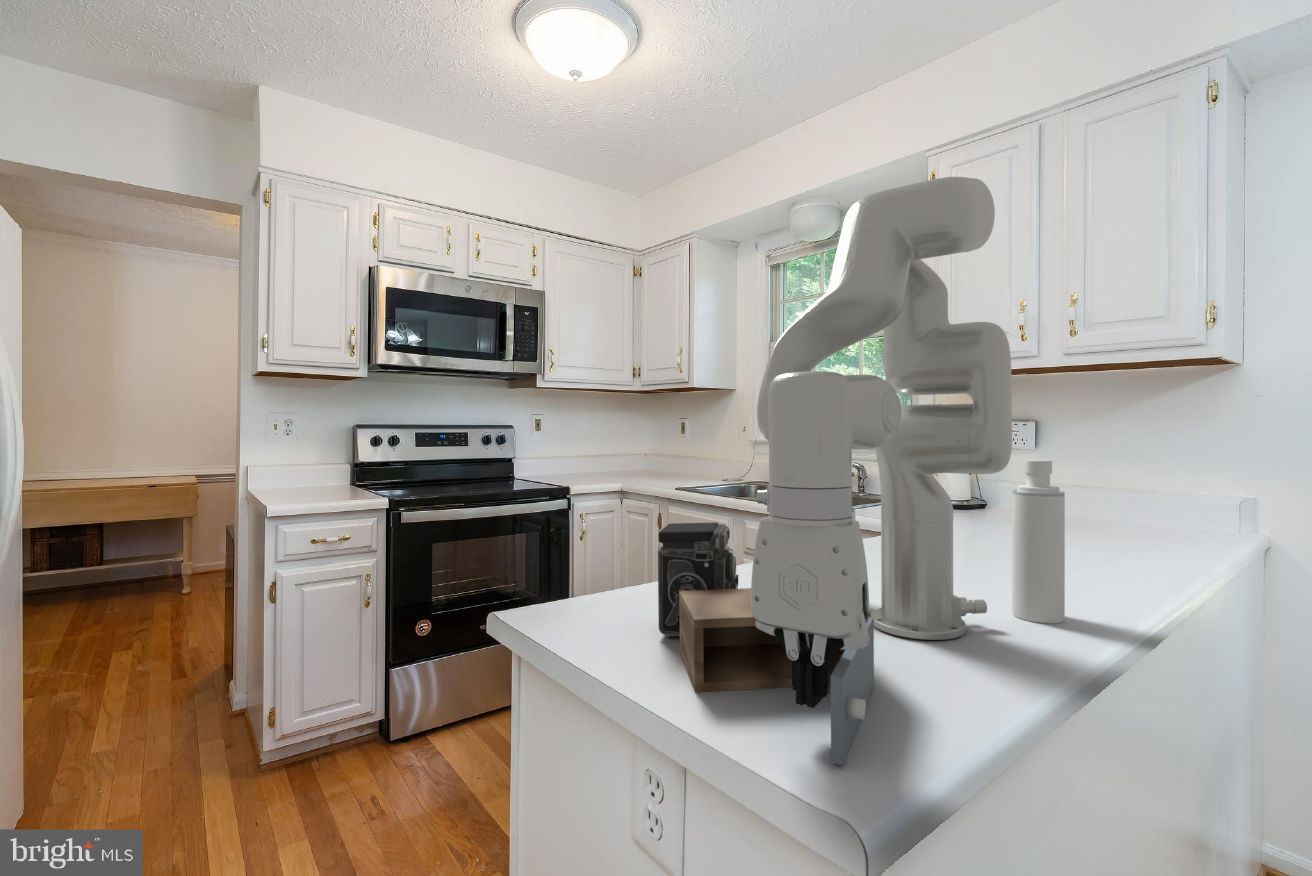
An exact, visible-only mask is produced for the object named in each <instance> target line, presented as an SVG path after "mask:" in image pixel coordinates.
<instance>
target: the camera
mask: <svg viewBox="0 0 1312 876" xmlns="http://www.w3.org/2000/svg"><path fill="white" fill-rule="evenodd" d="M730 532H731V531H730V528H729V526H727V524H725V523H724V524H723V523H722V524H721V523H720V524H719V522H684V523H683V522H682V523H679V522H678V523H677V522H676V523H668V524H667V525H666V526H664V527H663V528H662V529H661V530H659V532H658V542H659V543H660V544H662V546H661V547H660V548H659V549H658V551H657V591H658V593H657V594H658V595H657V596H658V599H657V600H658V601H657V602H658V603H657V604H658V605H657V606H658V630H659V632H660V633H661V634H662V635H664V636H665V637H667V638H671V637H680V611H679V591H691V590H717V589H739V574H737V557H736V556H735V555H734V553H733V552H731V551H730V549H726V547H727V546H728V544H729V539H730V534H731V533H730Z"/></svg>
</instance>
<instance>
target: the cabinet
mask: <svg viewBox="0 0 1312 876" xmlns="http://www.w3.org/2000/svg"><path fill="white" fill-rule="evenodd" d="M679 611H680V636H679V655H680V656H681V660H682V662H683V665H684V667H685V670H686V673H687V675H688V678H689V681H690V684H691V685H692V688H693V691H694V693H703V692H704V693H706V692H708V693H709V692H722V691H723V692H724V691H742V690H743V691H744V690H760V689H761V690H765V689H779V688H780V689H782V688H792V660H790V659H789V658H788V656H787V653H786V649H785V648H784V647H783V646H782V644H781V643H780V642H779V641H778V639H777V638H776V637H775V636H774V635H770V634H768V633H766V632H764V631H762V630H760V629H758V628H757V627H756V625H755V622H756V620H755V619H754V617H753V616H752V613H751V587H749V588H748V587H747V588H746V587H745V588H744V587H743V588H738V589H717V590H691V591H679ZM869 617H871V611H870V610H869ZM808 638H809V645H810V650H811V653H812V646H813V639H814V635H813V634H808ZM845 650H846V649H843V650H839V651H838V652H837V653H835V654H834V655H833V656H832V657H831V658H829V686H831V675H832V673H833V671H834V669H835V668H836V666H837V664H838V662H839V660H840V659H841V657H842V655H843V653H844V651H845Z"/></svg>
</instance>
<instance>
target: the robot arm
mask: <svg viewBox="0 0 1312 876" xmlns="http://www.w3.org/2000/svg"><path fill="white" fill-rule="evenodd" d="M995 209H996V208H995V202H994V198H993V194H992V193H991V190H990V189H989V187H988V186H987V185H986V183H985V182H984V181H983V180H981V179H979V178H975V177H967V176H966V177H964V176H946V177H939V178H935V179H929V180H923V181H920V182H916V183H911V184H907V185H903V186H898V187H894V188H889V189H884V190H880V191H877V192H874V193H870V194H867V195H865V196H863V197H862V198H860V199H858V201H856V202H855V203H853V204H852V205H851V206H850V208H849V210H848V211H847V213H846V215H845V217H844V220H843V224H842V226H841V227H842V229H841V231H840V235H839V240H838V244H837V247H836V252H835V255H834V259H833V263H832V266H831V271H830V274H829V275H830V276H829V278H828V284H827V287H826V291H825V293H824V294H823V295H822V296H821V297H820V298H818V299H817V300H816V301H814V303H812V304H811V305H810V306H808V308H807V309H806V310H804V312H802V313H801V314H800V315H799V316H798V318H796V319H795V321H794V322H793V323H792V324H791V325H789V327H787V329H786V330H785V331H784V332H783V333H782V334H781V336H780V337H779V338H778V339H777V341H776V343H775V344H774V346H773V348H772V350H771V352H770V355H769V357H768V360H767V363H766V367H765V371H764V373H763V377H762V381H761V383H760V384H761V385H760V388H759V392H758V393H759V394H758V399H757V405H756V406H757V407H756V408H757V410H756V419H757V424H758V425H757V426H758V428H759V432H760V433H761V434H762V436H763V438H764V439H765V440H766V441H767V442H768V484H767V485H766V488H765V489H762V490H761V489H760V490H757V492H756V496H755V497H756V500H755V501H756V502H757V504H759V505H760V504H761V505H764V506H766V512H767V513H768V516H765V517H760V520H759V524H758V528H757V532H756V533H757V534H756V538H755V545H754V552H753V560H752V571H751V572H752V573H751V583H750V584H751V586H750V588H751V613H752V616H753V617H754V619H755V620H756V622H755V625H756V627H757V628H758V629H760V630H762V631H764V632H766V633H768V634H770V635H774V636H775V637H776V638H777V639H778V641H779V642H780V643H781V644H782V646H783V647H784V648H785V649H786V653H787V656H788V658H789V659H790V660H792V687H791V689H792V691H795V704H796V705H798V706H803V705H806V707H808V708H811V709H814V708H815V707H816V706H817V705H818V704H819V703H820V702H822V701H823V699H824V698H826V697H827V695H828V694H829V688H830V685H829V658H831V657H832V656H833V655H834V654H835V653H837V652H838V651H839V650H843V649H846V650H851V649H863V648H865V647H866V646H867V645H868V644H869V643H870V638H869V634H868V630H867V625H866V623H867V621H868V617H869V611H870V591H869V578H868V567H867V566H868V565H867V559H866V558H867V557H866V553H865V546H864V541H863V536H862V531H861V525H860V523H859V521H857V520H855V521H853V520H852V508H853V496H852V495H853V486H852V485H853V481H852V480H853V479H852V475H853V471H852V470H853V469H852V468H853V465H852V463H853V461H852V460H853V458H852V454H853V453H852V452H853V451H852V450H869V449H870V450H871V449H875V455H876V459H877V460H876V461H877V465H878V466H877V467H878V473H879V482H880V485H879V486H880V514H881V515H880V532H881V533H880V540H881V541H880V543H881V546H880V549H881V550H880V551H881V552H880V556H881V557H880V560H881V561H880V563H881V564H880V565H881V572H880V573H881V576H880V579H881V581H880V583H881V584H880V585H881V586H880V587H881V588H880V590H881V591H880V592H881V595H880V597H881V602H880V603H881V605H880V606H881V607H879V608H877V609H874V610H873V611H871V612H870V614H871V617H873V618H874V628H876V629H878V630H879V631H882V632H885V633H887V634H890V635H893V636H898V637H902V638H908V639H914V640H923V641H924V640H925V641H927V640H928V641H942V640H943V641H944V640H950V639H955V638H959V637H961V636H963V635H964V634H965V633H966V631H967V630H966V629H967V623H966V622H965V620H964V619H962V617H966V615H967V614H971V615H974V614H975V615H977V614H986V613H987V611H988V605H987V602H986V601H985V600H984V599H969V600H968V599H967V598H966V596H963V597H961V596H957V595H955V594H954V507H953V503H952V500H951V497H950V495H949V494H948V492H947V491H946V490H945V489H944V487H943V486H942V485H941V484H940V482H939V481H938V480H937V479H936V477H935V476H934V474H959V475H960V474H964V475H965V474H967V475H991V474H996V473H1000V472H1001V471H1003V470H1005V469H1006V467H1007V466H1008V464H1009V463H1010V459H1011V457H1012V456H1011V455H1012V448H1013V404H1012V402H1013V399H1012V398H1013V397H1012V393H1013V392H1012V390H1013V389H1012V388H1013V387H1012V359H1011V357H1012V356H1011V349H1010V348H1011V347H1010V341H1009V339H1008V337H1007V334H1006V332H1005V330H1004V329H1003V328H1002V327H1001V326H1000V325H998V324H996V323H992V322H991V321H990V322H988V321H974V322H962V323H950V320H949V294H948V293H949V292H948V288H947V286H946V284H945V282H944V280H943V279H941V277H940V276H939V275H938V274H937V273H936V271H934V270H933V268H931V267H930V266H929V265H928V264H927V263H926V262H924V261H923V260H924V259H929V258H935V257H936V258H937V257H943V256H950V255H955V254H961V253H969V252H972V251H976V250H978V249H980V248H982V247H983V246H984V245H985V244H986V243H987V241H988V240H989V238H990V237H991V235H992V231H993V229H994V225H995V224H994V223H995V212H996V211H995ZM922 259H923V260H922ZM882 330H883V365H884V366H883V368H884V376H885V377H884V378H885V379H884V378H882V377H880V376H877V375H873V374H849V375H848V374H847V375H844V374H842V373H840V372H835V371H826V370H825V371H823V370H817V371H816V370H814V369H815V368H816V367H817V366H818V365H819V364H821V363H822V362H823V361H825V360H826V359H827V358H828V357H830V356H832V355H834V354H836V353H838V352H839V351H841V350H844V349H846V348H848V347H850V346H852V345H855V344H857V343H859V342H861V341H863V340H866V339H867V338H869V337H871V336H873V335H874V334H877V333H879V332H881V331H882ZM898 394H900V395H905V396H907V395H908V396H909V395H910V396H923V395H924V396H929V395H931V396H932V395H937V396H938V395H958V394H959V395H961V394H962V395H963V394H964V395H968V396H969V397H970V398H971V400H972V402H973V403H957V404H956V403H955V404H953V403H951V404H949V403H948V404H942V403H937V404H936V403H935V404H934V403H933V404H909V405H901V401H900V397H899V395H898ZM808 634H813V635H814V639H813V646H812V653H811V650H810V645H809V638H808Z"/></svg>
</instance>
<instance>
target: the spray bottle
mask: <svg viewBox="0 0 1312 876" xmlns="http://www.w3.org/2000/svg"><path fill="white" fill-rule="evenodd" d="M1023 463H1024V464H1023V468H1024V469H1023V471H1024V472H1023V473H1024V474H1025V484H1020V485H1017V487H1016V489H1013V490H1012V498H1011V503H1012V504H1011V505H1012V509H1011V510H1012V513H1011V514H1012V515H1011V518H1012V519H1011V520H1012V521H1011V523H1012V524H1011V525H1012V527H1011V533H1012V535H1011V537H1012V539H1011V555H1012V556H1011V557H1012V558H1011V560H1012V562H1011V574H1012V575H1011V579H1012V580H1011V583H1012V584H1011V588H1012V589H1011V591H1012V595H1011V596H1012V597H1011V598H1012V599H1011V600H1012V601H1011V612H1012V615H1013V616H1014V617H1016V618H1018V619H1020V620H1023V621H1028V622H1031V623H1038V624H1049V625H1050V624H1060V623H1063V622H1064V621H1065V619H1066V618H1065V617H1066V615H1065V611H1066V610H1065V604H1066V603H1065V599H1066V598H1065V595H1066V594H1065V593H1066V590H1065V589H1066V588H1065V583H1066V580H1065V578H1066V577H1065V575H1066V573H1065V571H1066V570H1065V568H1066V567H1065V565H1066V564H1065V563H1066V562H1065V561H1066V560H1065V558H1066V553H1065V550H1066V547H1065V545H1066V539H1065V537H1066V533H1065V532H1066V531H1065V530H1066V526H1065V524H1066V522H1065V521H1066V517H1065V516H1066V515H1065V514H1066V512H1065V508H1066V507H1065V506H1066V505H1065V499H1066V498H1065V494H1066V493H1065V491H1061V490H1060V486H1057V485H1056V486H1055V485H1051V475H1052V474H1053V460H1052V459H1024V461H1023Z"/></svg>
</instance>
